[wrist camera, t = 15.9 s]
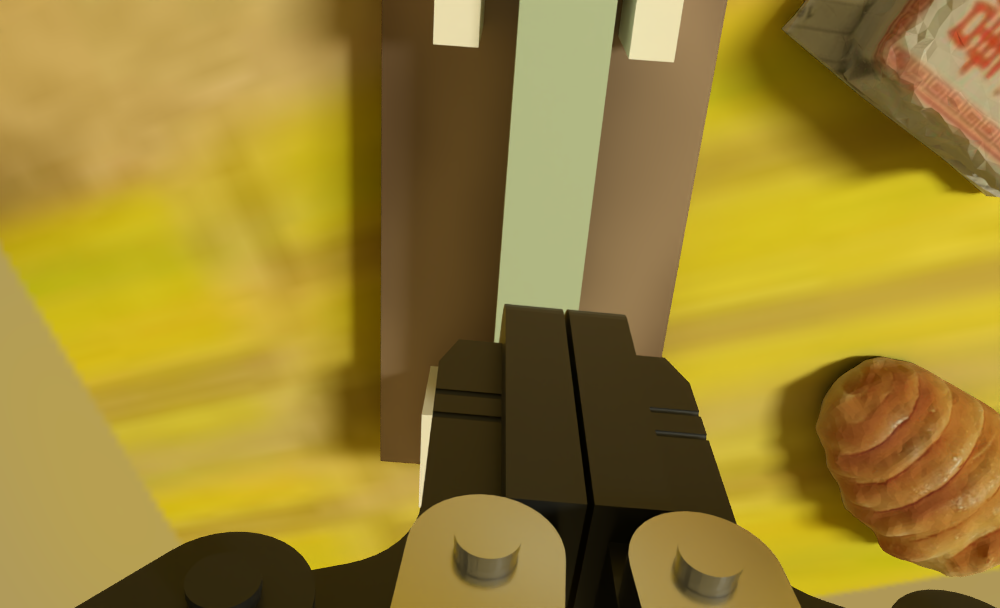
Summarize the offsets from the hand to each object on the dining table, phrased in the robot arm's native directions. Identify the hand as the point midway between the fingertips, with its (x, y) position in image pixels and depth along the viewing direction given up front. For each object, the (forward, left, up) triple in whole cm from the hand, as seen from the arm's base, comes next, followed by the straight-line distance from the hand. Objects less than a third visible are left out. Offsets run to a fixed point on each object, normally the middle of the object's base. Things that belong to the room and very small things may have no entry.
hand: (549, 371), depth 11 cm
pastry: (+16, -15, -19) cm, 29 cm away
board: (0, -5, -19) cm, 19 cm away
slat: (+1, -5, -17) cm, 18 cm away
